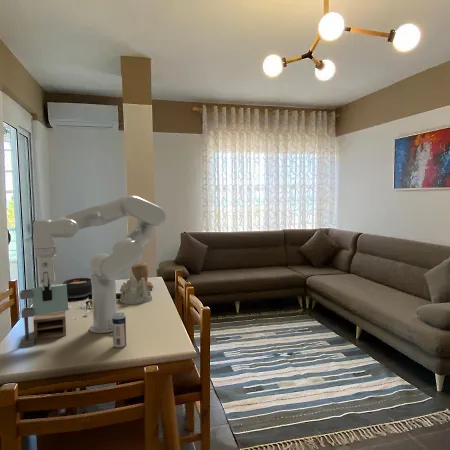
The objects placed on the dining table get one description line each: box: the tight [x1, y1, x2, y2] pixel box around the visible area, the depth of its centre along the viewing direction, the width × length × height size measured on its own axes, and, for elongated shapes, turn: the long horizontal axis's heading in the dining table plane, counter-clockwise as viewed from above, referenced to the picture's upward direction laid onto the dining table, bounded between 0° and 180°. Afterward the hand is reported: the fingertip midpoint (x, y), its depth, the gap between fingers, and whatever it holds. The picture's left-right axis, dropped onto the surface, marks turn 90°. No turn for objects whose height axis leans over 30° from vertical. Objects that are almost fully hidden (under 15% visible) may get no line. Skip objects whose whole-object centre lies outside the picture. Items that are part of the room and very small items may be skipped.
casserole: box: [62, 277, 92, 299], centre depth 203 cm, size 25×19×8 cm
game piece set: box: [68, 301, 93, 320], centre depth 171 cm, size 19×20×4 cm
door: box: [19, 283, 69, 319], centre depth 136 cm, size 4×16×10 cm, turn 114°
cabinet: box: [19, 311, 67, 348], centre depth 143 cm, size 17×16×12 cm
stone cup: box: [131, 262, 154, 290], centre depth 217 cm, size 15×12×15 cm
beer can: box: [112, 312, 127, 349], centre depth 133 cm, size 5×5×12 cm
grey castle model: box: [119, 274, 153, 305], centre depth 193 cm, size 16×16×15 cm
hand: (47, 299), depth 137 cm, fingers closed on door
